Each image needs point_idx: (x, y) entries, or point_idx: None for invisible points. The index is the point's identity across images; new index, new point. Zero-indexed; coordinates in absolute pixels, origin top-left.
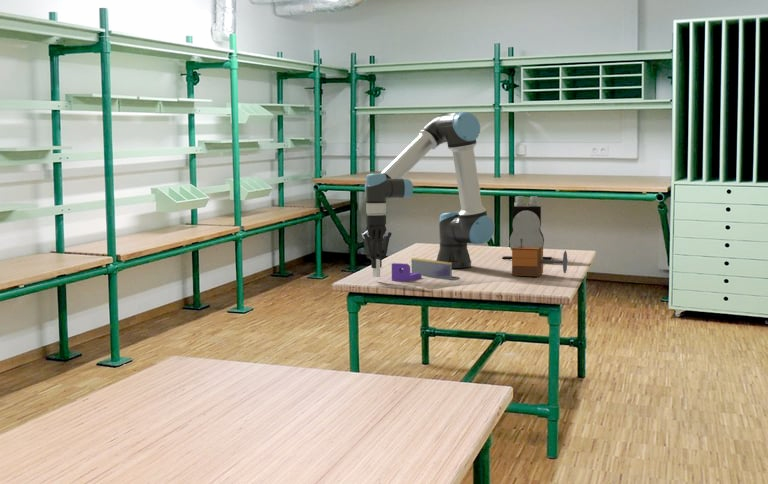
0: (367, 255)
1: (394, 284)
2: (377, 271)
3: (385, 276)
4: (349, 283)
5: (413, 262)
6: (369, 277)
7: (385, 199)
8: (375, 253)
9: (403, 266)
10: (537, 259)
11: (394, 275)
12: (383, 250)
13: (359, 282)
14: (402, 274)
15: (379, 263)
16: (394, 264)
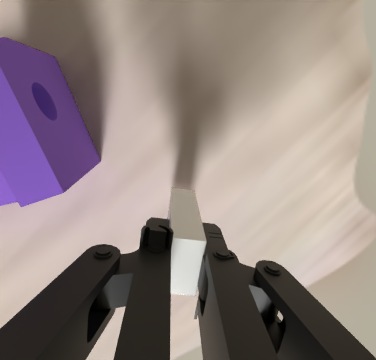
0: (278, 320)
1: (211, 16)
2: (193, 201)
3: (16, 302)
4: (320, 232)
5: None
6: None
7: None
8: (230, 286)
9: (18, 79)
10: None
11: (84, 150)
12: (87, 314)
13: (265, 226)
14: (54, 93)
15: (176, 223)
16: (53, 165)
